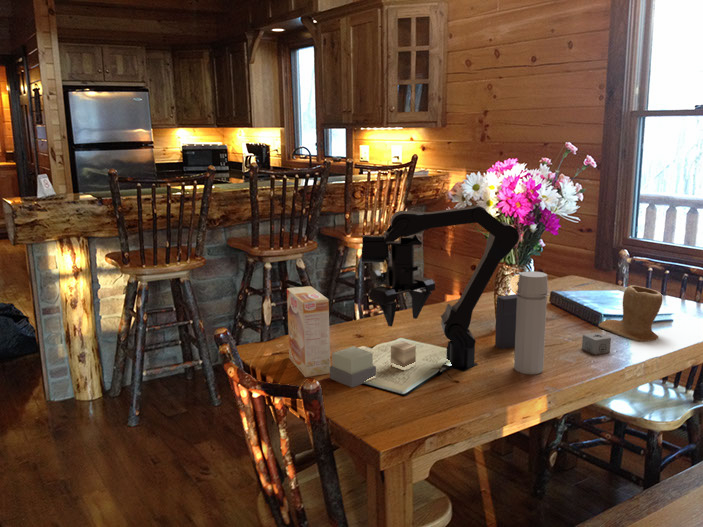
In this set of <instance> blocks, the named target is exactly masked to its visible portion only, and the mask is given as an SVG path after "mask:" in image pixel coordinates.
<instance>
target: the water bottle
mask: <svg viewBox="0 0 703 527" xmlns="http://www.w3.org/2000/svg"><path fill="white" fill-rule="evenodd" d="M548 281H549V280H548V274H547V273H545V272H542V271H532V270H531V271H522V272H520V273H519V277H518V285H517V290H516V291H515V293H516V294H518V295H517V309H516V333H515V347H514V357H513V359H514V360H513V361H514V365H513V369H514V370H515V371H516V372H518V373H521V374H523V375H539V374H541V373H543V371H544V362H545V361H544V360H545V359H544V358H545V341H546V322H547V304H548V302H547V301H548V297H549V296H550V294H549V284H548V283H549V282H548Z"/></svg>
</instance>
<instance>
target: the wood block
mask: <svg viewBox="0 0 703 527" xmlns="http://www.w3.org/2000/svg"><path fill="white" fill-rule="evenodd" d="M416 349H417V348H416V345H415V344H412V343H409V342H405V341H401V342H398V343H394V344H391V345H390V364H391V363H394V364H396V365H400V366H402V367H405V366H407V365H409V364H412V363H414V362H417V360H416V358H417V356H416V354H417V352H416Z"/></svg>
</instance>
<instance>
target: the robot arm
mask: <svg viewBox="0 0 703 527" xmlns="http://www.w3.org/2000/svg"><path fill="white" fill-rule="evenodd" d="M475 223H477V224H478V225H479V226H480V227H482V228H483V229H484V230H486V231H487V232H488V237H487V240H486V244H485V248H484V249H485V250H484V253H483V255H482V257H481V259H480V261H479V262H478V264H477V266H476V268H475V270H474V272H473V273H472V275H471V277H470V279H469V281H468V282H467V284H466V286H465V288H464V290H463V292H462V294H461V296H460V298H458V300H457V301H456V302H455V303H454V304H453V305H451V304H450V303H448V304H447V305H446V307H445V311H444V312H443V313H442V314H441V315H440V318H441V321H440V325H441V326H440V327H441V329H442V331H443V334H444V335H445V337H446V339H448V340H449V341H447V346H446V359H448V360H450V362H451V364H452V366H450V367H449V368H451V369H453V370H457V371H460V372H466V371H468V370H470V369H473V368H475V367H477V366H478V365H479V363H478V362H475V357H476V356H475V355H476V354H475V353H476V339H475V337H474V335H473V333H472V332H471V329H469V328H470V325H471V321H472V316H473V311H474V309H475V308H476V305H477V303H478V302H479V300H480V299H481V297H482V295H483V293H484V291H485V289H486V288H487V286H488V284H489V281H491V279H492V277H493V275H494V273H495V271H496V269H497V268H498V266H499V263H501V261H502V260H503V259H504V258H506V257H507V256H508V255H509V254H510V253H511V251H512V250H513V249H514V248H515V246H516V245H517V244H518V242H519V239H520V235H519V234H520V233H519V231H518V230H517V228H516V227H514V226H513V225H511V224H510V223H508V222H506V221H499V220H498V219H497V218H496V217H494V216H493V215H492V214H491V213H489V212H488V211H487V210H486V208H484V207H483V206H481V205H479V204H475V205H472V206H468V207H466V206H465V207H460V208H459V207H458V208H452V209H444V210H443V209H442V210H434V211H427V212H426V211H417V210H416V211H415V210H398V211H396V212H395V213H394V214H393V215H392V216H391V219H390V225H389V226H388V227H387V229H386V230H385V231H384V233H383V235H368V234H366V235H364V234H363V235H362V236H361V237H362V238H361V239H362V246H361V263H363V264H364V263H365V264H367V263H369V264H370V263H373V264H375V263H376V264H377V263H385V261H387V259H389V256H390V255H391V256H390V259H391V260H390V261H391V262H390V263H391V265H387V267H386V271H384V272H381V271H380V270H379V269H376V270H374V271H373V270H372V271H370V274H369V275H370V276H369V281H370V282H371V284H373V285H376V287H372V288H370V290H369V291H368V299H369V300H370V301H373V302H374V303H375V304H377V305H379V307H380V308H381V310H382V313H383V315H384V318H385V321H386V324H387V326H388V327H393V325H394V320H395V315H396V310H397V306H398V305H397V304H398V301H396V299H397V295H401V294H404V293H409V295H410V297H411V311H412V317H413V319H414V320H415V319H416V320H417V319H418V317H419V315H420V313H421V311H423V310H422V309H423V308H424V305H425V303H426V302H427V300H428V299H429V296H430V295H432V293H433V291H436V282H435V280H434V279H433V278H427V277H425V276H418V277H415V271H418V270H419V268H418V267H419V266H417V265H415V246H421V245H422V244H423V242H422V240H421V239H420V238H419V237H418V235H417V234H419V233H421V232H424V231H426V230H430V229H435V228H443V227H452V226H460V225H467V224H475ZM410 236H411V237H410ZM398 239H399V240H398ZM389 246H390V252H391V253H390V252H389Z"/></svg>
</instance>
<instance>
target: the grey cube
mask: <svg viewBox="0 0 703 527" xmlns="http://www.w3.org/2000/svg"><path fill="white" fill-rule="evenodd" d="M611 341H612V337H610V336H607V335H606V334H603V333H600V332H592V333H586V334H582V340H581V350H583V351H585V352H587V353H590V354H592V355H595V356H596V355H601V354H606V353H607V354H608V353H610V352H611V344H612V343H611Z"/></svg>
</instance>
